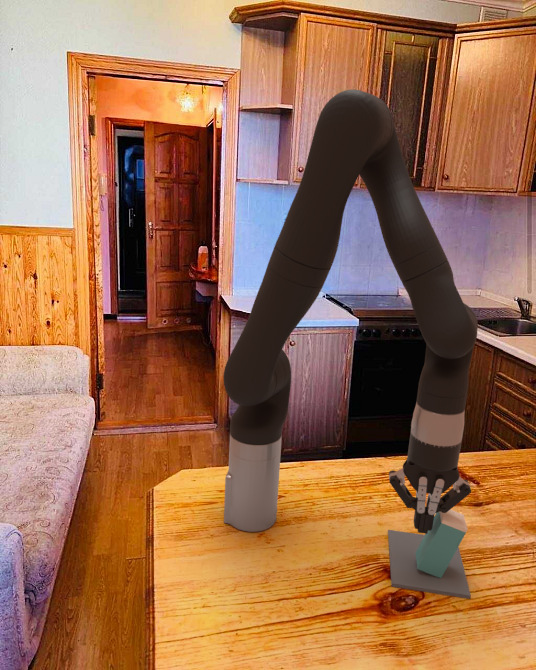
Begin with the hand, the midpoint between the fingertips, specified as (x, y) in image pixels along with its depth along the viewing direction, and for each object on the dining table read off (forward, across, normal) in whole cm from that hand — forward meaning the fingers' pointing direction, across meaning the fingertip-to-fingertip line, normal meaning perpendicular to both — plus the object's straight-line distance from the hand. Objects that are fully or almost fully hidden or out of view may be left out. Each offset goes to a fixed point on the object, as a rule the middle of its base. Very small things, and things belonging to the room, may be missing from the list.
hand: (422, 530), depth 91 cm
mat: (+8, +2, +2) cm, 8 cm away
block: (+7, +2, 0) cm, 7 cm away
